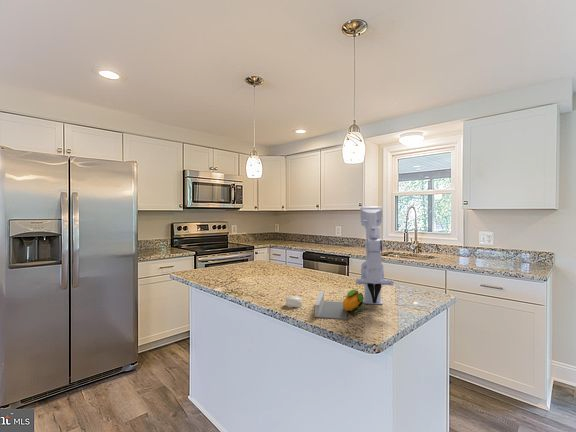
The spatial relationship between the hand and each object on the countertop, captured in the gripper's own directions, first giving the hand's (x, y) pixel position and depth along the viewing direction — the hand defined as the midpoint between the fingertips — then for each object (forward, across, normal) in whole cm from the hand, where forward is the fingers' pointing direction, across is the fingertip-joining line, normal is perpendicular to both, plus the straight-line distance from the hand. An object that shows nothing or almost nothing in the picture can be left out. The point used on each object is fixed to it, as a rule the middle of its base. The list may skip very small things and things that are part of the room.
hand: (374, 302), depth 122 cm
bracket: (+4, -17, 0) cm, 17 cm away
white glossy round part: (+4, -34, +3) cm, 34 cm away
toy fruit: (+4, -9, 0) cm, 10 cm away
